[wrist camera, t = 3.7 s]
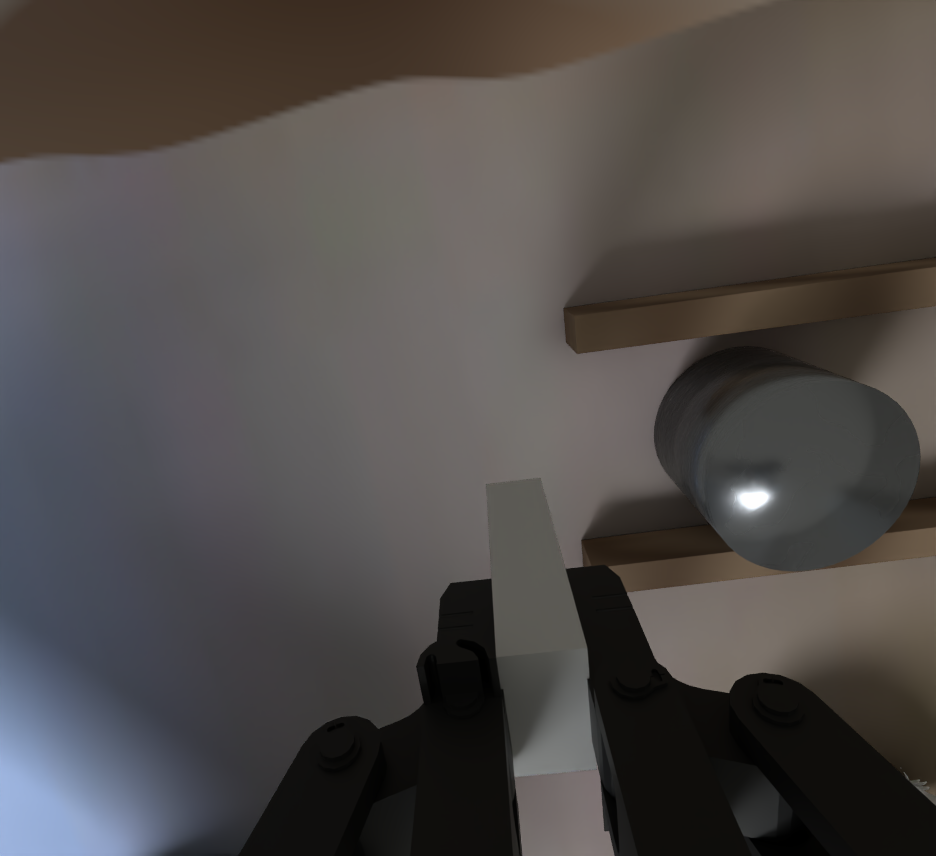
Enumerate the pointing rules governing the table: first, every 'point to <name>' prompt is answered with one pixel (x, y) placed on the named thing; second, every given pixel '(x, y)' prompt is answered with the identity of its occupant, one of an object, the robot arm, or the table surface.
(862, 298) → the guide rails
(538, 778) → the table surface
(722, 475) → the cylinder
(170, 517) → the table surface
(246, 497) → the table surface
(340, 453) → the table surface
